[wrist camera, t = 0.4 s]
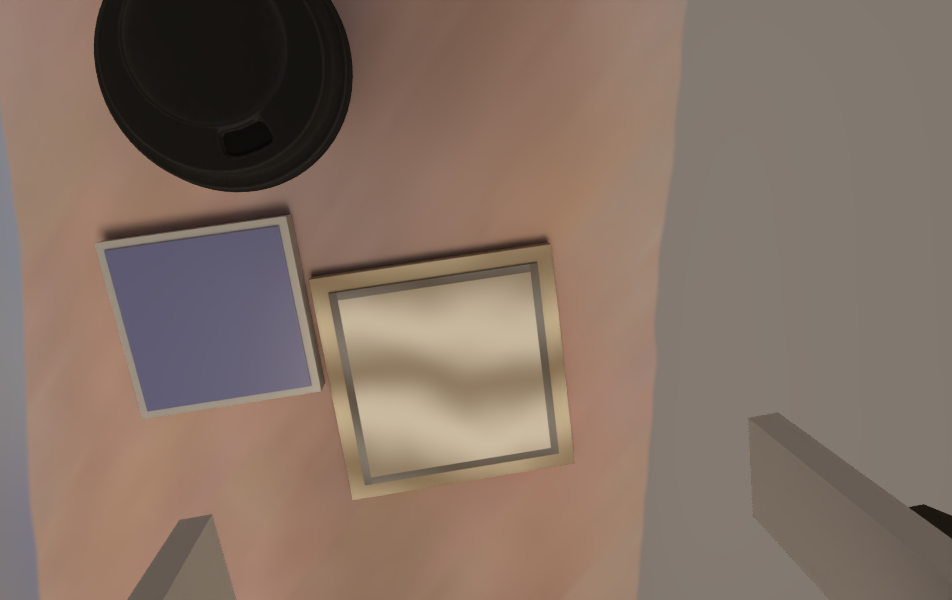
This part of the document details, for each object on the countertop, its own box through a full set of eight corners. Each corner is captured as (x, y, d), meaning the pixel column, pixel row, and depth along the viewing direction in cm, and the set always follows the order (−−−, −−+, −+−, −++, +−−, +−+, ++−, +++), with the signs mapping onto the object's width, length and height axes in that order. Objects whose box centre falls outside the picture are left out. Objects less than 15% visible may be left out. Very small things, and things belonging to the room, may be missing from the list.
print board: (311, 276, 39) (308, 280, 38) (547, 242, 40) (551, 244, 39) (354, 492, 43) (352, 501, 41) (571, 456, 43) (575, 464, 42)
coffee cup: (305, 214, 38) (234, 246, 24) (177, 103, 36) (14, 64, 22) (408, 96, 37) (400, 55, 23) (282, -24, 35) (186, -154, 21)
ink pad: (107, 240, 38) (92, 243, 36) (291, 214, 38) (285, 216, 37) (152, 409, 40) (141, 420, 38) (324, 382, 41) (320, 392, 39)
